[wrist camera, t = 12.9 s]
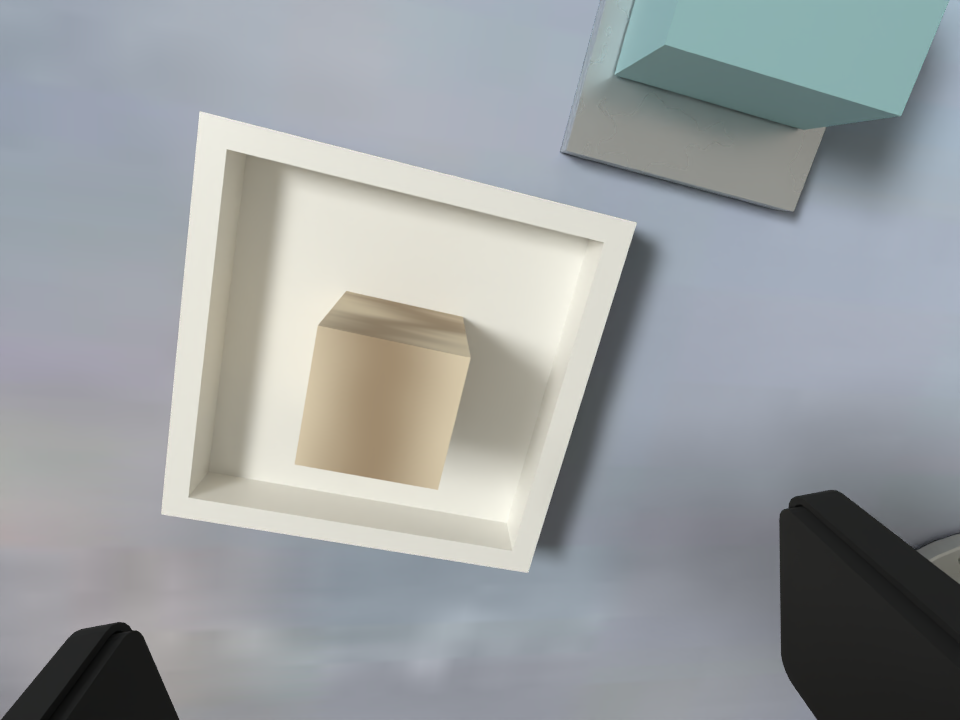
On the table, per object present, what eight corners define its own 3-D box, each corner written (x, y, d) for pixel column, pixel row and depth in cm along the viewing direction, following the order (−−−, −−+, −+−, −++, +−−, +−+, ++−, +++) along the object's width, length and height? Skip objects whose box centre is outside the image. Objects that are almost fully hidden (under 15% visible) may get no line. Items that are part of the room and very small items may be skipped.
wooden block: (462, 316, 25) (470, 357, 19) (437, 421, 26) (438, 489, 20) (346, 290, 24) (317, 325, 18) (326, 400, 25) (294, 464, 19)
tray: (613, 218, 25) (636, 222, 22) (518, 534, 29) (528, 572, 26) (230, 120, 22) (199, 111, 19) (190, 478, 27) (161, 514, 24)
